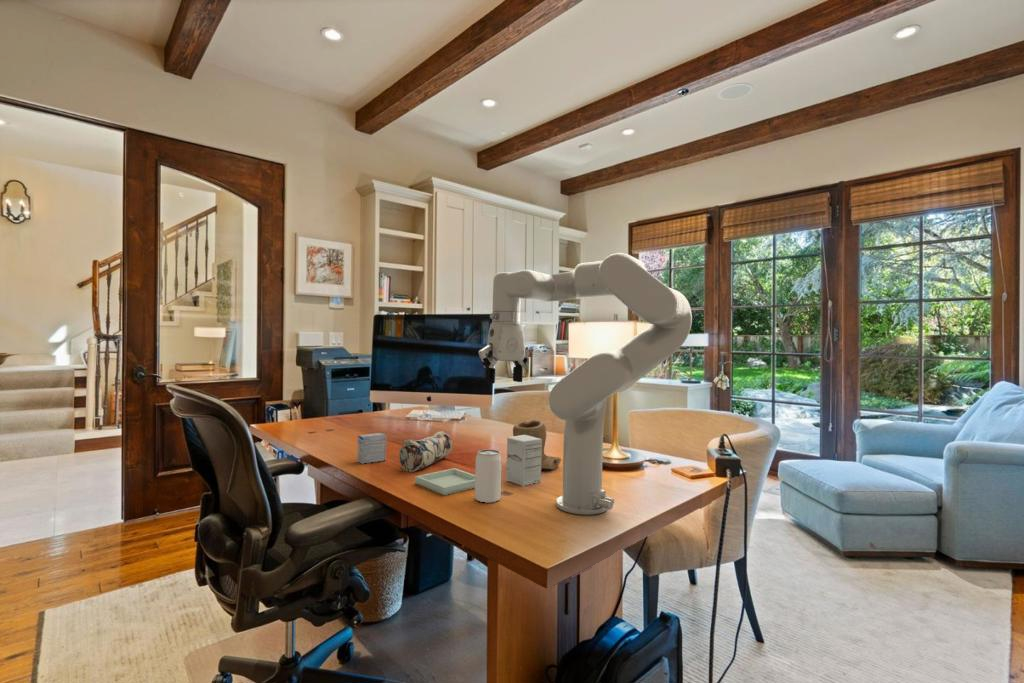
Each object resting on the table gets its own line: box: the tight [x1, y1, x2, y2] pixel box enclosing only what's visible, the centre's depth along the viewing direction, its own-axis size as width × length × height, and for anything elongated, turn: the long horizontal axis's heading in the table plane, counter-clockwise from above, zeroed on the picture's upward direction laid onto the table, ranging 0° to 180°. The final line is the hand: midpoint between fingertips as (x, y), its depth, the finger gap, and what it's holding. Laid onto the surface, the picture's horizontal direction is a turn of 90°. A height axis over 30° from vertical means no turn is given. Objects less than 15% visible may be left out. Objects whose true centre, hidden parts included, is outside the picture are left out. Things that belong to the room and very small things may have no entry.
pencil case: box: [398, 430, 453, 473], centre depth 157 cm, size 22×8×10 cm, turn 161°
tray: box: [414, 467, 475, 497], centre depth 134 cm, size 14×14×2 cm
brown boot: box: [512, 419, 562, 470], centre depth 154 cm, size 15×12×15 cm
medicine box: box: [357, 432, 387, 465], centre depth 158 cm, size 8×4×9 cm, turn 130°
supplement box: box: [505, 435, 542, 487], centre depth 139 cm, size 7×7×13 cm
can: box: [474, 449, 502, 504], centre depth 123 cm, size 6×6×12 cm
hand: (504, 382), depth 131 cm, fingers open, 9 cm apart
